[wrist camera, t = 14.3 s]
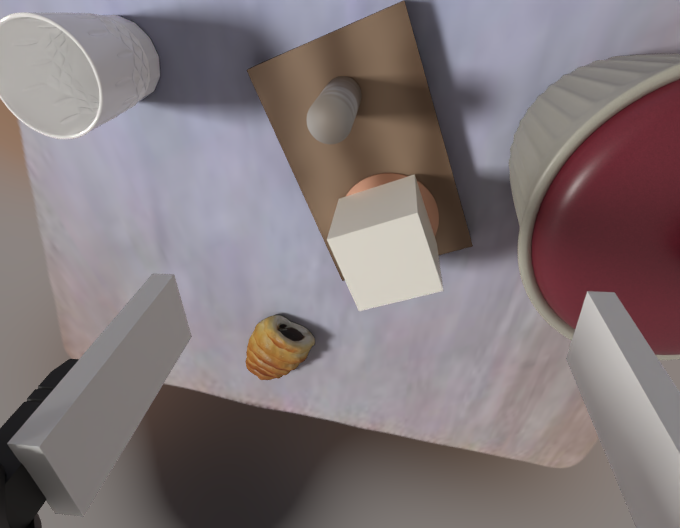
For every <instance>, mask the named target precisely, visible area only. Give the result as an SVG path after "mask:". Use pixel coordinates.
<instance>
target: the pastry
mask: <svg viewBox="0 0 680 528" xmlns="http://www.w3.org/2000/svg"><path fill="white" fill-rule="evenodd" d="M314 344H315V339H314V337H313V335H312V333H311V332H309V331H308V329H306V328H305V327H303V326H301V325H298V324H296V323H292V322H290V321H289V320H288V319H286V318H284V317H283V316H280V315H274V316H270V317H268V318H266V319H264V320H262V321H261V322H259V323H258V324H257V325H256V327H255V330H254V332H253V334H252V335H251V337H250V339H249V343H248V346H247V358H246V366H247V369H248V370H249V371H250V372H251V373H253V374H254V375H256V376H258V378H259V379H261V380H271V379H274V378H280V377H282V376H283V375H287V374H288V373H289V372H290V371H291V370H294V369H296V368H297V367H298V365H299V364H300V363H301V362H303V361H304V360H305V359H306V358H307V356H308V353H309V351H310V349H311V347H312V346H313V345H314Z"/></svg>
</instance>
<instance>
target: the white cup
mask: <svg viewBox="0 0 680 528" xmlns="http://www.w3.org/2000/svg"><path fill="white" fill-rule="evenodd" d="M159 78H160V65H159V56H158V54H157V52H156V50H155V47H154V45H153V43H152V41H151V39H150V37H149V36H148V35H147V34H146V33H145V32H144V31H143V30H142V29H141V28H140V27H139V26H138V25H137V24H136V23H134V22H132V21H129V20H127V19H125V18H122V17H120V16H118V15H97V14H91V13H14V14H10V15H8V16H5V17H4V18H2V19H1V20H0V98H1V100H2V101H3V102H4V104H5V105H6V106H7V107H8V109H9V110H10V111H11V112H12V113H13V114H14V115H15V116H16V117H17V118H18V119H19V120H20V121H22V122H23V123H24V124H26V125H27V126H28V127H30V128H32V129H33V130H35V131H37V132H39V133H41V134H43V135H46V136H49V137H52V138H57V139H74V138H78V137H81V136H83V135H85V134H87V133H88V132H90V131H92V130H94V129H95V128H97V127H99V126H101V125H103V124H105V123H106V122H108V121H110V120H112V119H114V118H115V117H117V116H119V115H120V114H122V113H123V112H125V111H127V110H128V109H130V108H132V107H133V106H135V105H136V104H137V103H138V102H139V101H141V100H143V99H144V98H145V97H147V96H148V95H150V94H151V93H152V92H154V90H155V88H156V85H157V83H158V80H159Z"/></svg>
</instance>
